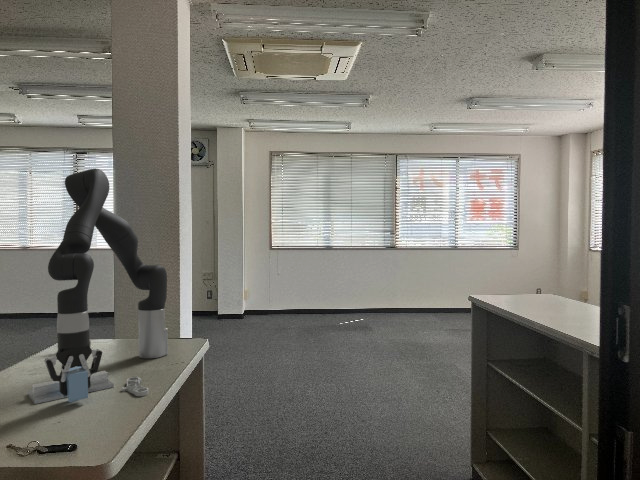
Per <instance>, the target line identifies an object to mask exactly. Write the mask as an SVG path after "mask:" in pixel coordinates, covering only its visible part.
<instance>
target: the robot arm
mask: <svg viewBox="0 0 640 480" xmlns="http://www.w3.org/2000/svg"><path fill="white" fill-rule="evenodd" d="M64 186H65V190H66V192H67V194H68V195H69V197H70V198H71V200H72V201H73V202H74V203H75V205H76V206H77V207H78V209H77V210H76V211H75V212H74V213H73V214H72V215H71V217H70V218H69V220H68V222H66V223H67V224H66V226H65V230H64V234H63V238H62V241H61V242H60V243H59V246H58V247H57V248H56V249H55V251H54V252H53V254H52V255H51V257H50V259H49V261H48V265H47V272H48V274H49V276H50V278H51V279H53V280H54V281H77V283H76V285H75V286H74V287H71V288H66V289H62V290H60V291H59V292H58V293H57V298H56V299H57V317H56V318H57V319H56V332H57V334H56V336H57V337H56V338H57V351H56V354H55V355H54V356H52V357H47V358H44V364H45V366H46V369H47V372H48V375H49V376H50V379H51V380H52V381H59V387H60V393H61V394H63V395H64V396H66V395H67V382H66V378H67V373H69V370H70V368H74V367H81V368H82V369H83V370H86V371H87V372H88V388H90V386H91V384H90V376H91V375H92V374H94V373H97V372H99V367H100V364H101V360H102V357H103V351H102V350H100V349H92V348H91V346H90V340H91V338H90V317H89V311H88V310H89V309H88V308H89V307H88V306H89V305H88V294H89V288H90V282H91V280H92V279H91V278H92V275H93V272H94V268H95V263H94V262H95V261H94V260H93V259H94V258H92V256H91V255H89V254H88V252H89V251H90V249H91V246H92V241H93V235H94V231H95V228H96V229H97V231H98V232H99V233H100V235H101V236H102V238H103V239H104V241H105V242H106V244H107V245H108V246H109V248H110V249H111V250H112V252H113V253H114V254H115V256H116V257H117V260H119V262H120V263H121V265H122V266H123V268H124V270H125V271H126V273H127V275H128V277H129V279H130V280H131V282H132V284H133V285H134V286H135V287H136V288H137V289H138V290H141V291H149V293H148V296H147V297H145V298H144V299H143V300H139V302H138V303H137V304H138V305H137V308H138V309H137V311H138V313H137V314H138V315H137V317H138V319H137V320H138V357H139V358H140V359H156V358H160V357H161V358H162V357H164V356H167V355H168V354H169V352H168V351H169V350H168V346H169V344H168V342H169V341H168V338H169V337H168V328H167V327H166V301H167V295H168V294H167V291H168V289H167V287H168V274H167V270H166V268H165V267H164V266H163V265H158V264H145V263H144V262H143V261H142V260H141V258H140V257H139V255H138V249H139V248H138V247H139V240H138V235H137V234H136V233H135V231H134V229H133V228H132V226H131V225H130V223H129V222H128V221H127V220H126V219H125V218H123V217H122V216H120V215H118V214H116V213H113V212H111V211H110V210H109V209H107V208H104V205H105V202H106V200H107V199H108V195H109V193H110V181H109V178H108V176H107V174H106V173H105V172H104V171H103V170H102V169H100V168H91V169H86V170H83V171H79V172H75V173H73V174H69V175H67V176H66V177H65V180H64ZM90 356H91V357H92V362H91V366H90V368H89V365H88V363H87V360H88V359H89V358H90ZM57 361H58V362H59V363H60V364H61V367H60V372H59V375H58V374H57V372H56V370H55V366H56V364H57V363H56V362H57Z"/></svg>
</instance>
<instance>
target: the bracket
mask: <svg viewBox="0 0 640 480" xmlns="http://www.w3.org/2000/svg"><path fill="white" fill-rule="evenodd" d="M141 383H142V378H141V377H139V376H131V377H129V378H127V379H126V386H125V387H123V386H121V390H122V392H123V393H124V392H128V393H130V394H132V395H134V396H135V397H146V396H148V395H149V387H146V386H145V387H144V386H142V385H140V384H141Z"/></svg>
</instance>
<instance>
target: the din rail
mask: <svg viewBox="0 0 640 480" xmlns="http://www.w3.org/2000/svg"><path fill="white" fill-rule="evenodd" d="M90 384H91V386H90V388H88V394H89V393H92V392H93V393H94V392H98V391H102V390H107V389H112V388H114V387H115V384H114V382H112V381H111V380H110V379H109V372H108V371H106V370H101V371H97V373H94V374H92V375H91V376H90ZM27 396H28V397H29V398H30V400H31V401H32V402H33V404H34V405H39V404H41V403H42V404H43V403H47V402H51V401H55V400H60V399H64V398H68V396H65V397H64V396H63V394H61V393H60V387H59V381H53V380H49V381H44V382H38V383H34V384H31V389H30V390H27Z"/></svg>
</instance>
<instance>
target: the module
mask: <svg viewBox="0 0 640 480" xmlns="http://www.w3.org/2000/svg"><path fill="white" fill-rule="evenodd" d="M66 382H67V395H66V396H68V397H67V401H68V403H72V402H77V401H80V400H85V399H89V393H88V372H87V371H86V370H83V369H82V368H81V367H73V368H70V370H69V373H67V378H66ZM63 396H64V395H63ZM64 397H65V396H64Z"/></svg>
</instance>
